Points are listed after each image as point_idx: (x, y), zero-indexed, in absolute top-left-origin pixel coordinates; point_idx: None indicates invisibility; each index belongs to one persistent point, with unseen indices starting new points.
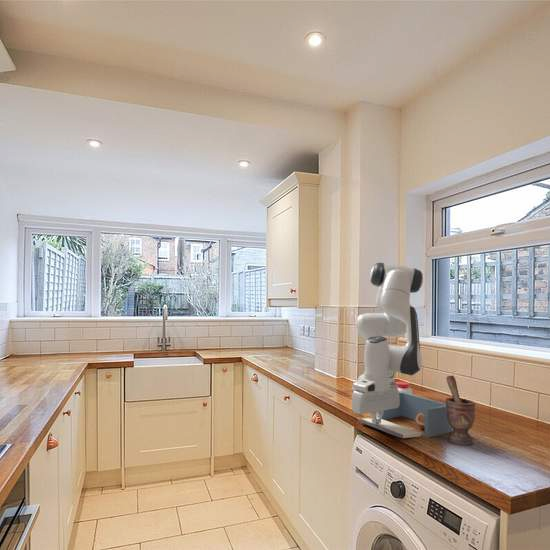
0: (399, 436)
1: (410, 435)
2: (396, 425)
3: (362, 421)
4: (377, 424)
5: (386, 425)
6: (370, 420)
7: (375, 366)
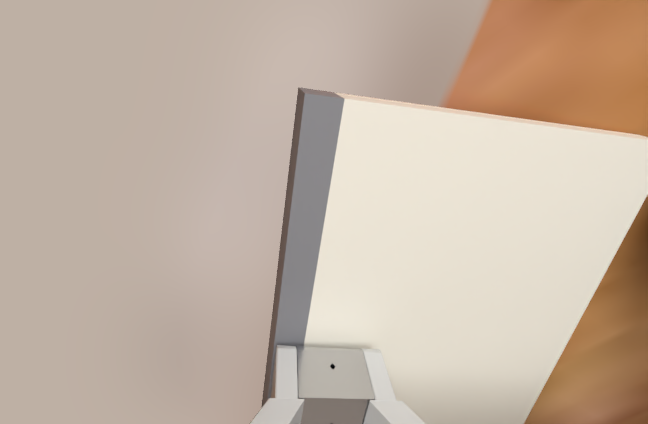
0: None
1: None
2: (498, 413)
3: (292, 160)
4: None
5: None
6: (404, 223)
7: None
